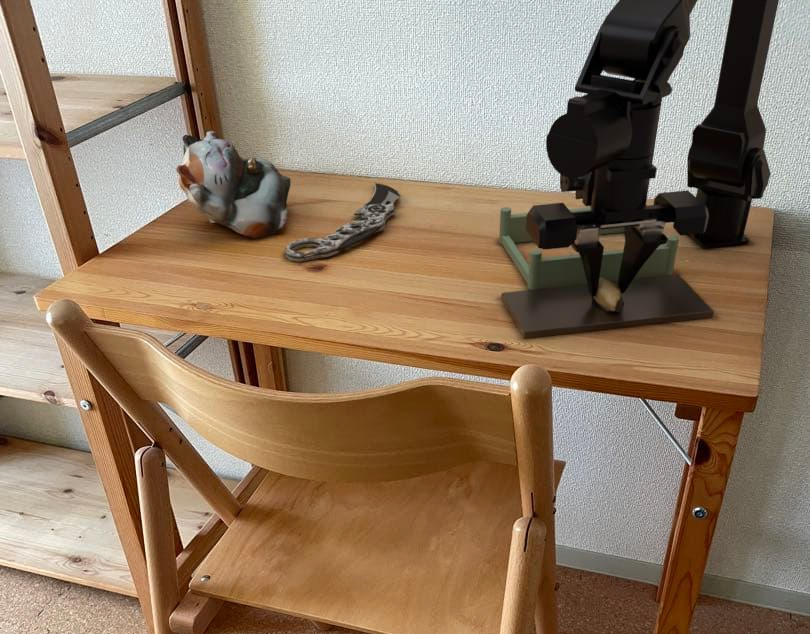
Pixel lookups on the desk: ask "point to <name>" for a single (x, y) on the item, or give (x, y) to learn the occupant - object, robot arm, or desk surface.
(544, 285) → the frame
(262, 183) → the lucky cat figurine
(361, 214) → the knife
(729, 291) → the desk surface
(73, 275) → the desk surface
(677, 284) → the board
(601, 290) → the brazil nut
